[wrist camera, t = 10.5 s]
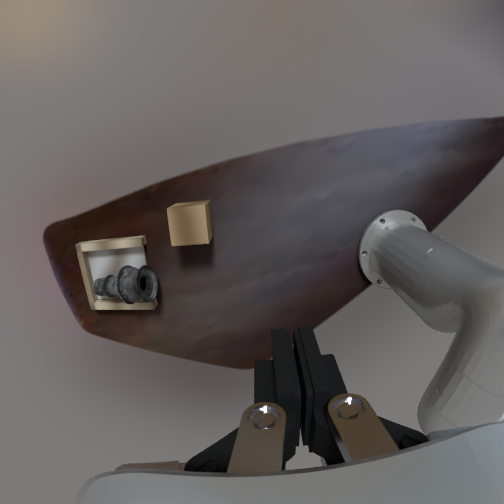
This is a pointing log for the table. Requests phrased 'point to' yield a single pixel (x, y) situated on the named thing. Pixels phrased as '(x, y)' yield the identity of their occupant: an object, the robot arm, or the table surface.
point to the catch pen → (111, 268)
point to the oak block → (190, 223)
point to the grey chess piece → (129, 284)
